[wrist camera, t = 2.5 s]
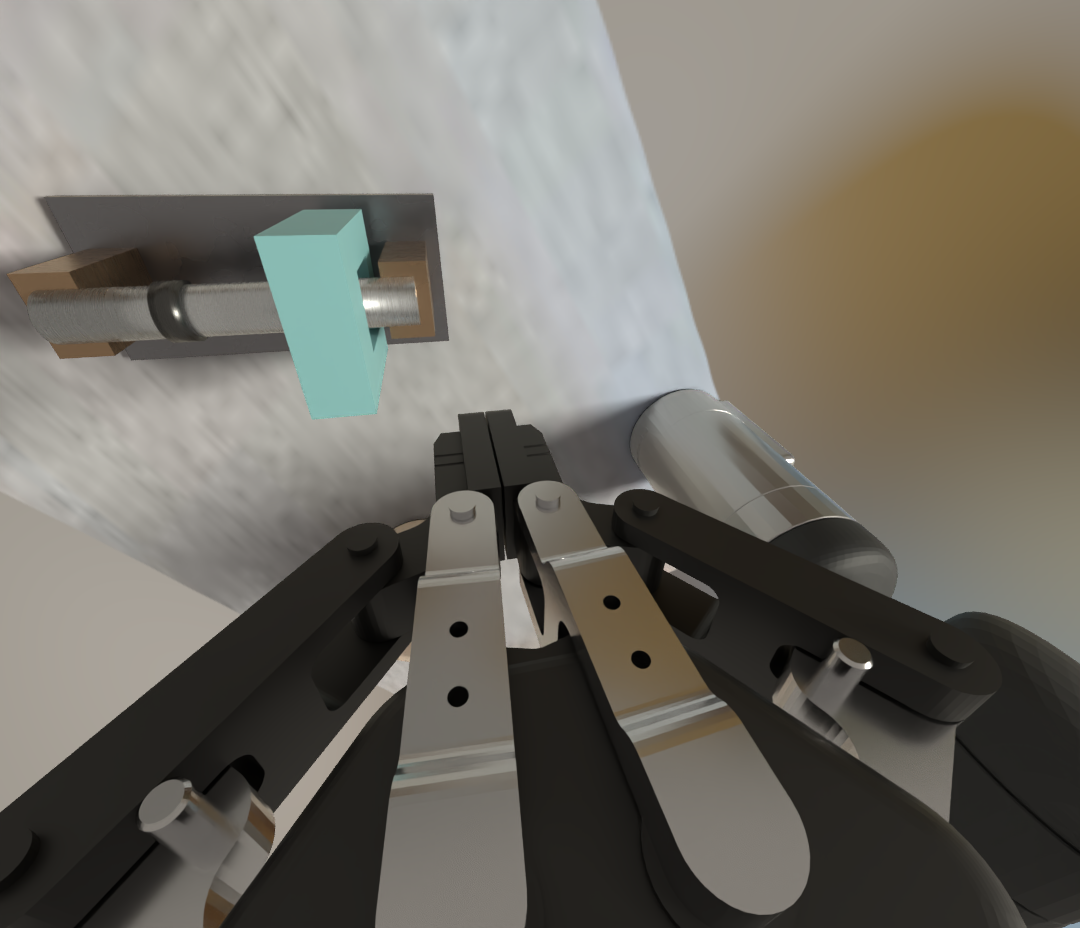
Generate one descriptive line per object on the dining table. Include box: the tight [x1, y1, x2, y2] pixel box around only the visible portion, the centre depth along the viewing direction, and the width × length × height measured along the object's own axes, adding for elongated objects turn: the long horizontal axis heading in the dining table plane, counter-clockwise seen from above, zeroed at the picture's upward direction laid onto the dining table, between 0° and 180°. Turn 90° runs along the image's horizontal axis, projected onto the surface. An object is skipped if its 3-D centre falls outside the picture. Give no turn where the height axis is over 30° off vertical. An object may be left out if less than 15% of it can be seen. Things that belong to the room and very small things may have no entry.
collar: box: [254, 209, 388, 419], centre depth 23 cm, size 3×8×9 cm, turn 179°
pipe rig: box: [7, 194, 449, 360], centre depth 25 cm, size 20×9×8 cm, turn 89°
